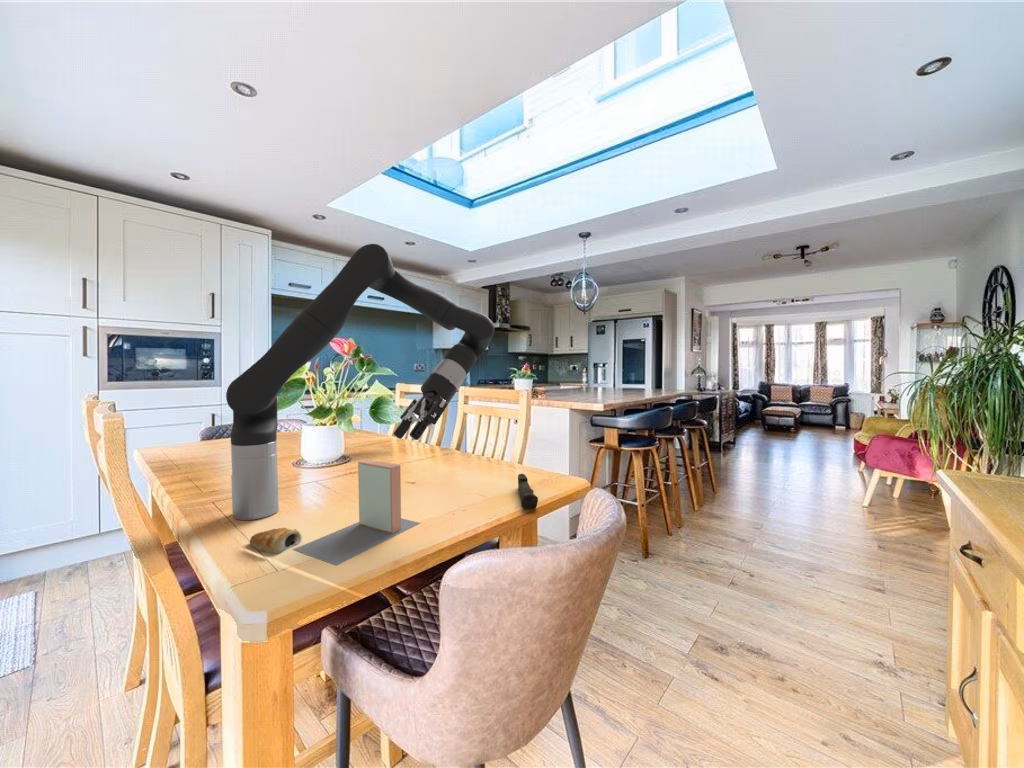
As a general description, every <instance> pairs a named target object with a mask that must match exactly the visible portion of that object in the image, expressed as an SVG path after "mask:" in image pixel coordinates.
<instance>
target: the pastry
mask: <svg viewBox="0 0 1024 768" xmlns="http://www.w3.org/2000/svg"><path fill="white" fill-rule="evenodd" d="M302 539H303V535H302V534H301V532H300V531H299V530H297V529H296V528H295V529H291V528H287V527H279V528H273V529H269V530H265V531H261V532H257V533H255V534H254V535H252V536H251V537H250V539H249V543H250V545H251V546H252V547H253V548H255V549H256V550H257V551H259V552H266V553H269V554H276V555H279V554H281V553H282V552H285V551H287V550H289V549H290V548H292V547H295V546H297V545H299V544H301V542H302Z"/></svg>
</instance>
